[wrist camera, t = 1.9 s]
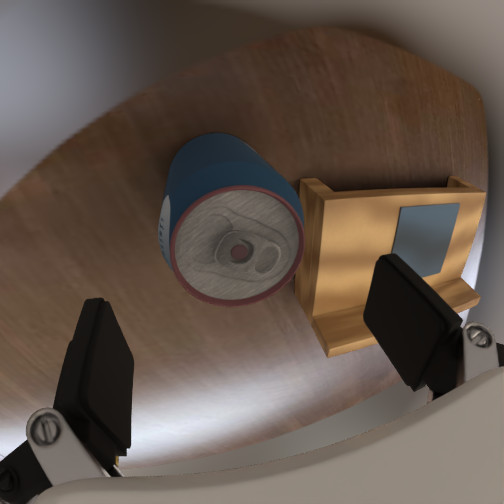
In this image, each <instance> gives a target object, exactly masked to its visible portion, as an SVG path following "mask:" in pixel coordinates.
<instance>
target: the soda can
mask: <svg viewBox="0 0 504 504" xmlns="http://www.w3.org/2000/svg"><path fill="white" fill-rule="evenodd" d="M158 238H159V244H160V248H161V251H162V254H163V257H164V259H165V261H166V262H167V264H168V265H169V267H170V268H171V270H172V271H173V272H174V274H175V276H176V277H177V279H178V281H179V282H180V284H181V285H182V286H183V287H184V288H185V289H186V290H187V291H188V292H189V293H190V294H191V295H193V296H194V297H196V298H197V299H199V300H201V301H204V302H206V303H209V304H213V305H218V306H227V307H235V306H244V305H249V304H253V303H256V302H259V301H261V300H264V299H266V298H268V297H270V296H271V295H273V294H275V293H276V292H278V291H279V290H280V289H281V288H283V287H284V286H285V285H286V284H287V283H288V282H289V281H290V279H291V278H292V277H293V276H294V274H295V273H296V271H297V269H298V268H299V266H300V263H301V261H302V258H303V254H304V250H305V233H304V214H303V209H302V205H301V202H300V200H299V197H298V196H297V194H296V192H295V190H294V189H293V188H292V186H291V185H290V184H289V183H288V182H287V181H286V180H285V179H284V178H283V177H282V176H281V175H280V174H279V173H278V172H277V171H276V170H275V169H274V168H273V167H272V166H271V165H270V164H269V163H267V162H266V161H265V160H264V159H263V158H262V157H261V156H260V155H259V154H258V153H257V152H256V151H255V150H253V149H252V148H251V147H250V146H249V145H248V144H247V143H245V142H244V141H243V140H241V139H239V138H237V137H235V136H232V135H229V134H224V133H210V134H205V135H201V136H199V137H196V138H194V139H192V140H191V141H189V142H188V143H186V144H185V145H184V146H183V147H182V148H181V149H180V150H179V151H178V152H177V154H176V155H175V157H174V159H173V161H172V163H171V165H170V169H169V173H168V178H167V183H166V188H165V193H164V198H163V203H162V208H161V214H160V219H159V226H158Z"/></svg>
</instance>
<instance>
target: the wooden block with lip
mask: <svg viewBox="0 0 504 504" xmlns="http://www.w3.org/2000/svg"><path fill="white" fill-rule="evenodd" d="M485 196H486V192H484V191H482V190H481V189H479V188H477V187H475V186H474V185H472V184H470V183H468V182H466V181H464V180H462V179H460V178H458V177H457V176H449V177H448V183H447V188H402V189H377V190H358V191H341V192H334V191H333V190H331V189H330V188H329V187H327V186H326V185H325V184H323V183H322V182H321V181H319V180H318V179H317V178H305V179H300V192H299V200H300V202H301V205H302V209H303V214H304V233H305V250H304V254H303V258H302V261H301V263H300V266H299V268H298V269H297V271H296V275H295V290H294V293H295V294H296V296H297V298H298V300H299V302H300V304H301V306H302V308H303V310H304V312H305V314H306V316H307V318H308V320H309V322H310V324H311V326H312V328H313V330H314V332H315V334H316V336H317V338H318V340H319V342H320V344H321V346H322V348H323V350H324V352H325V354H326V356H327V358H329V357H333V356H336V355H340V354H344V353H347V352H351V351H354V350H358V349H361V348H364V347H367V346H371V345H374V344H377V343H378V342H377V340H376V339H375V337H374V336H373V334H372V333H371V331H370V330H369V329H368V327H367V326H366V324H365V322H364V320H363V313H364V309H365V305H366V301H367V297H368V293H369V289H370V285H371V281H372V276H373V272H374V267H375V263H376V261H377V260H378V259H379V257H380V256H381V255H385V254H391V253H395V254H397V255H398V256H399V257H400V258H401V259H402V260H404V261H405V262H406V263H407V264H408V265H409V266H410V267H411V268H412V269H413V270H414V271H415V272H416V273H417V274H418V275H419V276H420V277H421V278H422V279H424V280H425V281H426V282H427V283H428V284H429V285H430V286H431V287H432V288H433V289H434V290H435V291H436V292H437V293H438V294H439V295H440V296H441V297H442V298H443V299H444V301H445V302H446V303H447V304H448V305H449V306H450V307H451V308H452V309H453V310H454V311H455V312H456V313H460V312H462V311H464V310H467V309H469V308H471V307H473V306H475V305H477V304H478V302H479V300H480V298H481V297H480V295H479V294H477V293H476V292H475V291H474V290H473V289H472V288H471V287H470V286H469V285H468V284H467V283H466V282H465V281H464V280H463V279H462V278H461V274H462V272H463V269H464V266H465V264H466V261H467V258H468V255H469V252H470V249H471V246H472V243H473V240H474V237H475V234H476V230H477V227H478V223H479V220H480V216H481V213H482V209H483V205H484V201H485Z"/></svg>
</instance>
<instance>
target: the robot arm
mask: <svg viewBox="0 0 504 504" xmlns="http://www.w3.org/2000/svg"><path fill="white" fill-rule="evenodd" d="M363 320H364V322H365V324H366V326H367V327H368V329H369V330H370V331H371V333H372V334H373V336H374V337H375V339H376V340H377V342H378V343H379V345H380V346H381V348H382V349H383V350H384V352H385V353H386V355H387V356H388V358H389V359H390V361H391V362H392V364H393V365H394V367H395V368H396V370H397V372H398V373H399V375H400V376H401V378H402V379H403V381H404V382H405V384H406V385H408V386H410V387H411V388H412V390H413V391H414V392H415V391H417V390H419V389H421V388H423V387H425V385H426V384H427V386H428V387H429V392H428V400H427V404H426V405H424V406H422V407H421V408H418V409H416V410H415V411H413V412H410V413H408V414H406V415H404V416H402V417H400V418H398V419H396V420H393V421H391V422H389V423H387V424H384V425H382V426H380V427H377V428H375V429H372V430H370V431H368V432H365V433H362V434H360V435H357V436H355V437H352V438H349V439H347V440H344V441H341V442H338V443H335V444H332V445H329V446H326V447H323V448H319V449H316V450H313V451H310V452H306V453H302V454H299V455H295V456H291V457H287V458H283V459H279V460H275V461H270V462H266V463H261V464H256V465H251V466H246V467H240V468H234V469H227V470H220V471H213V472H204V473H194V474H183V475H171V476H149V477H148V476H146V477H125V476H124V475H123V474H122V473H121V472H120V470H119V469H118V468H117V467H116V466H115V464H116V456H127V448H130V447H131V412H132V388H133V372H134V359H133V355H132V353H131V351H130V349H129V347H128V344H127V342H126V340H125V338H124V336H123V333H122V331H121V329H120V327H119V324H118V322H117V320H116V317H115V315H114V312H113V310H112V307H111V305H110V303H109V302H108V301H106V302H105V301H104V299H103V298H93V299H87V300H85V302H84V305H83V308H82V311H81V314H80V317H79V320H78V323H77V327H76V330H75V333H74V336H73V340H71V341H70V343H69V345H68V348H67V352H66V355H65V359H64V363H63V366H62V370H61V374H60V378H59V382H58V387H57V391H56V396H55V400H54V405H53V408H41V409H39V410H37V411H36V412H35V413H33V414H32V415H31V417H30V418H29V420H28V422H27V426H26V436H27V440H26V441H25V442H23V443H22V444H21V445H20V446H19V447H17V448H16V449H15V450H14V451H13V452H11V453H10V454H9V455H8V456H6V457H5V458H4V459H3V460H2V461H0V504H504V345H503V344H499V343H496V341H495V337H494V334H493V333H492V331H491V330H490V329H489V328H488V327H487V326H485V325H484V324H482V323H479V322H469V323H467V324H465V326H464V328H463V329H462V328H461V326H460V325H461V323H462V321H463V320H462V318H461V317H460V316H459V315H458V314H457V313H456V312H455V311H454V310H453V309H452V308H451V307H450V306H449V305H448V304H447V303H446V302H445V301H444V299H443V298H442V297H441V296H440V295H439V294H438V293H437V292H436V291H435V290H434V289H433V288H432V287H431V286H430V285H429V284H428V283H427V282H426V281H425V280H424V279H422V278H421V277H420V276H419V275H418V274H417V273H416V272H415V271H414V270H413V269H412V268H411V267H410V266H409V265H408V264H407V263H406V262H405V261H404V260H402V259H401V258H400V257H399V256H398V255H397V254H395V253H391V254H385V255H381V256H380V257H379V259H378V260H377V261H376V263H375V267H374V272H373V276H372V281H371V285H370V289H369V293H368V297H367V301H366V305H365V309H364V313H363Z"/></svg>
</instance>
